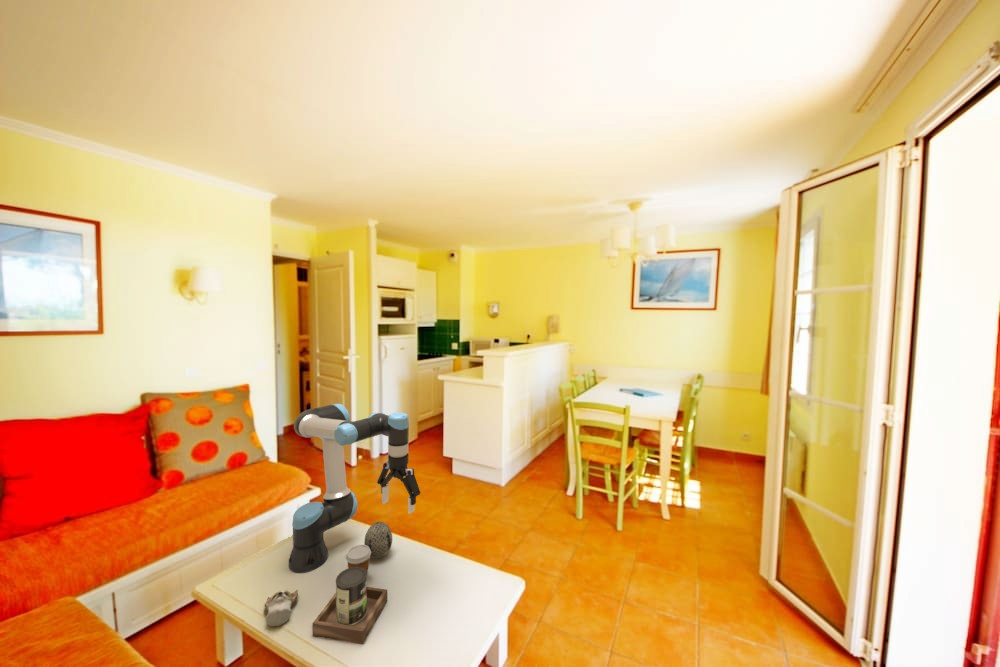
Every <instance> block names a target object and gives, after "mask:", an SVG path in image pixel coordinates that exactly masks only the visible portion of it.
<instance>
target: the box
mask: <svg viewBox="0 0 1000 667" xmlns="http://www.w3.org/2000/svg"><path fill="white" fill-rule="evenodd" d="M388 591H389V590H388V589H387V588H381V587H379V588H378V587H374V586H373V587H370V586H367V613H366V616H365V617H364V618H363V620H361V621H360V622H359V623H357V624H355V625H353V626H348V625H342V624H338V623H337V621H336V592H335V593H334V595H332V597H331V599H329V601H328V602H327V603H326V604H325V606H324V607H323V608H322V610H321V611H320V613H319V614H318V615H317V617H316V618H315V619H314V620H313V622H312V623H311V627H312V628H311V629H312V630H311V631H312V637H315V638H316V637H317V638H322V639H326V640H327V639H329V640H334V641H335V640H336V641H340V642H345V643H347V642H348V643H353V644H360V645H364V644H365V641H366V640H367V638H368V636H369V634H370V632H371V631H372V629H373V627H374V626H375V624H376V622H377V620H378V619H379V617H380V615H381V614H382V611H383V610H384V608H385V606H386V604H387V603H388V595H389V594H388Z"/></svg>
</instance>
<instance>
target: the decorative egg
mask: <svg viewBox="0 0 1000 667" xmlns="http://www.w3.org/2000/svg"><path fill="white" fill-rule="evenodd" d="M363 542H364V544H363V545H367V546H368V547H369V548H370V550H371V555H370V558H373V559H379V558H382V557H384V556H386V555H387V554H388V553H389V551H390V550H391V547H392V544H393V534H392V530H391V528H390V526H389V524H387V523H385V522H384V521H376V522H373V523H372V524H371V526H369V528H368V529H367V530H366V533H365V536H364V541H363Z"/></svg>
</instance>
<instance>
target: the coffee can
mask: <svg viewBox="0 0 1000 667" xmlns="http://www.w3.org/2000/svg"><path fill="white" fill-rule="evenodd" d="M367 580H368V574H367V571H366V570H365V569H364V568H362V567H351V568H348V567H347V568H346V569H344V570H342V571H341V572H339V573H338V575H337V576H336V578H335V593H336V621H337V623H338V624H342V625H348V626H353V625H355V624H357V623H359V622H360V621H361V620H363V618H364V617H365V616H366V613H367V587H368V585H367V584H368V581H367Z"/></svg>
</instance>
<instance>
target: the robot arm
mask: <svg viewBox="0 0 1000 667" xmlns="http://www.w3.org/2000/svg"><path fill="white" fill-rule="evenodd" d="M409 420H410V419H409V415H408V414H407V413H405V412H397V411H396V412H392V413H391V414H386V413H383V412H373V413H371V414H370V415H368V417H366V418H362V419H358V420H353V421H351V416H350V413H349V411H348V409H347V408H346V407H345V405H344V404H342V403H333V404H327V405H324V406H318V407H314V408H309V409H306V410H304V411H302V412H301V413H299V415H298V416H297V417H296V418H295V419H294V423H293V430H294V432H295V433H296V435H298V436H300V437H303V438H307V439H308V438H309V439H310V438H314V437H318V438H319V439H320V440H321V443H322V454H323V466H324V475H325V476H324V478H325V488H326V490H325V493H324V495H323V497H322V498H323V502H320V501H313V502H312V501H311V502H307V503H305V504H303V505H301V506H300V507H298V508H297V509H296V510H295V512H294V513H293V516H292V525H291V527H292V549H291V551H290V554H289V559H288V569H289V570H290V571H291V572H294V573H301V574H302V573H307V572H311V571H313V570H316V569H318V568H319V567H321V566H323V565H324V563H325V562H326V561H327V560H328V558H329V550H328V549H329V548H328V547H327V545H326V542H325V540H324V533H325V532H326V531H329V530H331V529H332V528H335V527H337V526H339V525H342V524H343V523H346V522H347V521H348V520H350V519H352V518H353V517H354V516H355V515H356V513H357V511H358V499H357V498H356V494H355V493H354V492H353V491H351V488H349V487H348V485H347V483H348V482H347V474H346V464H345V450H344V446H348V445H352V444H354V443H358V442H360V441H363V440H367V439H371V438H373V437H377V436H380V435H382V436H385V437H387V438H388V442H387V443H388V446H387V448H388V449H387V452H388V453H387V454H388V455H387V457H388V458H387V459H388V460H387V462H384V463H382V466H383V467H382V470H381V472H380V474H379V477H378V479H377V481H376V482H377V485H380V487H381V488H380V490H381V491H380V492H381V501H382V502H381V504H383V505H385V504H386V503H388V502H389V501H390V498H389V497H390V492H389V491H390V485H389V482H390V481H391V480H392V479H393V478H394V479H398V480H400V482H402V484H403V485H404V488H405V489H406V491H407V493H408V495H409V496H408V498H407V500H408V501H407V504H408V505H407V511H408V512H407V513H408V515H411V514H412V513H414V512H415V510H416V508H415V507H416V506H415V505H416V503H417V497H418V496H419V495H421V491H420V487H419V484H418V481H417V478H416V475H415V469H414V468H410V469H409V468H408V463H409V440H410V439H409V431H410V429H409V427H410V422H409Z"/></svg>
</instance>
